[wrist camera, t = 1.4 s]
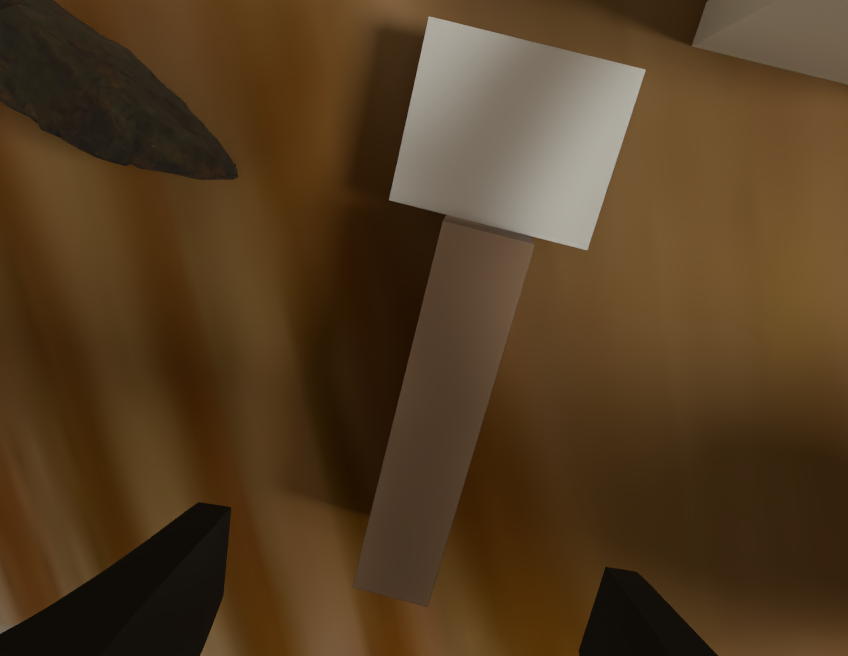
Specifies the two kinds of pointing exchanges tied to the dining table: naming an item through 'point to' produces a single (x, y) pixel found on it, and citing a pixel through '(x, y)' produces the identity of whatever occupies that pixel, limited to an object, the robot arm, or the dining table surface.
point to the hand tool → (99, 95)
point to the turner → (481, 256)
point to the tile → (780, 34)
